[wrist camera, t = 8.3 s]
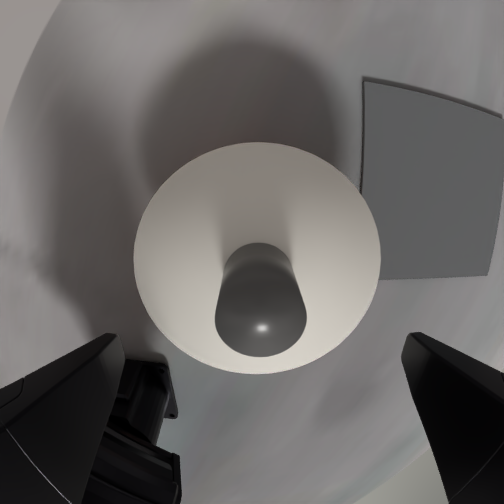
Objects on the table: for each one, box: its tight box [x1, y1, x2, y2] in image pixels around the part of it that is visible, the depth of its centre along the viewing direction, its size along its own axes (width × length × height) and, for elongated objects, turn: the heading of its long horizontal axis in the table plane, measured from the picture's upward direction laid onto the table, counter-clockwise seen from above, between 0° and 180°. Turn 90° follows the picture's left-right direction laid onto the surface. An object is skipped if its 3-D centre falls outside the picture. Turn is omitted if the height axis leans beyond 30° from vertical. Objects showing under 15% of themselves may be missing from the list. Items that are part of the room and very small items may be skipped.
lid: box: [133, 142, 381, 374], centre depth 13 cm, size 12×12×5 cm
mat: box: [360, 81, 504, 280], centre depth 18 cm, size 13×13×1 cm
